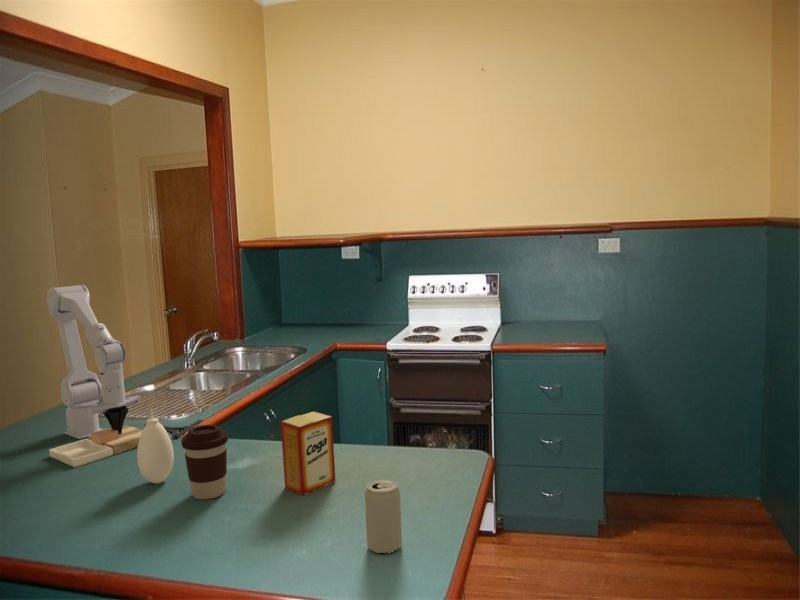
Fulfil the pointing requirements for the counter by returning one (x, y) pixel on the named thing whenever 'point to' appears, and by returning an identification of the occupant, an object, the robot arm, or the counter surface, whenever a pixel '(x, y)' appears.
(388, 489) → the beverage can
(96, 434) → the tile
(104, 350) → the robot arm
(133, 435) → the large beige panel
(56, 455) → the tray
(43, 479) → the counter surface
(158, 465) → the rubber air blower
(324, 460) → the baking soda box
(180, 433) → the bracket
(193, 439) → the coffee cup
